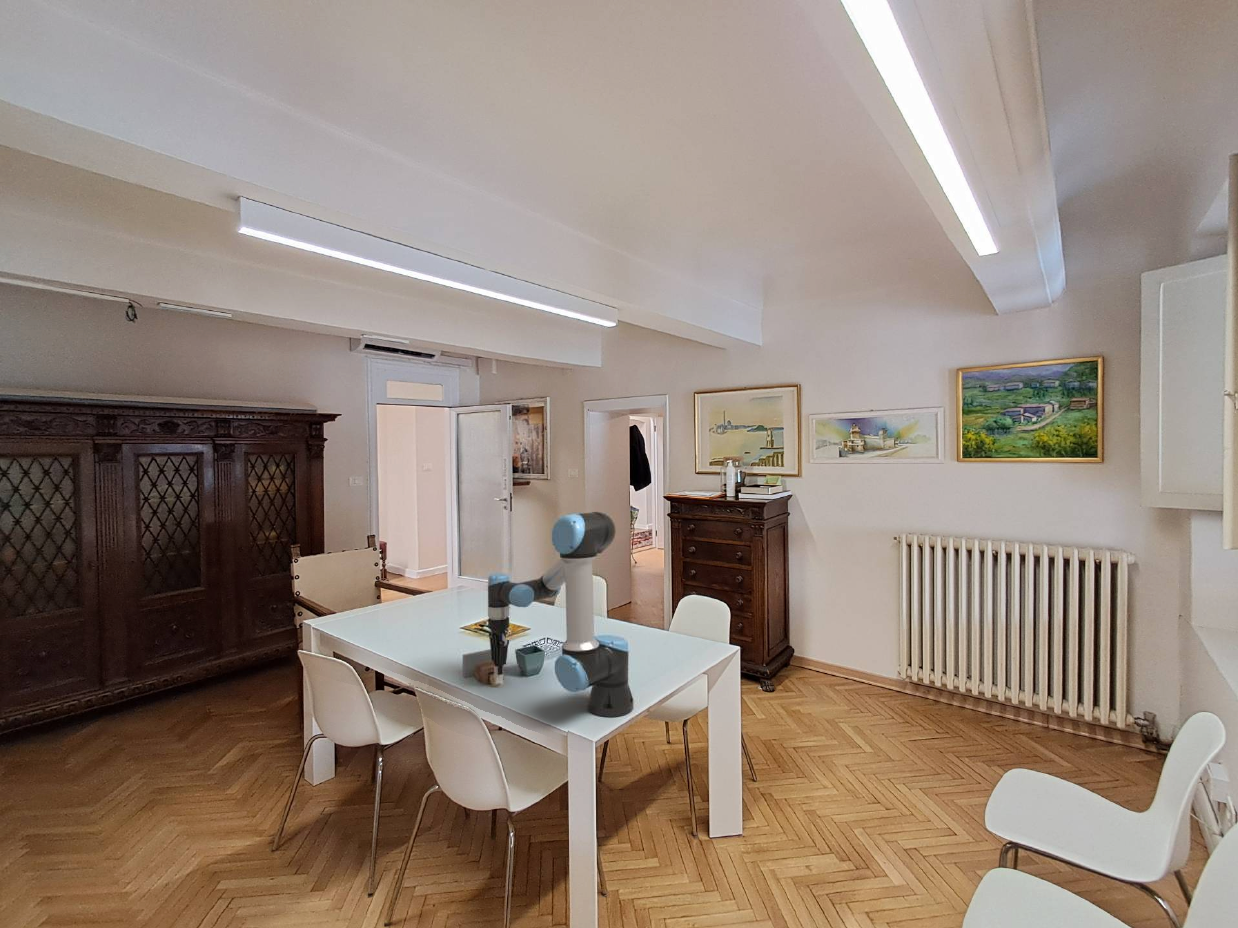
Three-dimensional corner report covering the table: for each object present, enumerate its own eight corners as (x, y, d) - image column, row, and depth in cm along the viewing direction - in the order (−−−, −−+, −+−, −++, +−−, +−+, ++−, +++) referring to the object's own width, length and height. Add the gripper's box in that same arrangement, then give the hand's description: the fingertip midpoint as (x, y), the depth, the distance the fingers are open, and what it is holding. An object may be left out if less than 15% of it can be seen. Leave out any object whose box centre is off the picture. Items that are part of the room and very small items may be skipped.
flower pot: (524, 679, 212) (524, 655, 212) (514, 672, 219) (514, 649, 219) (545, 674, 217) (545, 650, 217) (534, 667, 224) (534, 644, 224)
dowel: (501, 685, 207) (501, 676, 207) (494, 686, 205) (494, 678, 205) (490, 676, 215) (490, 668, 215) (483, 678, 213) (483, 670, 213)
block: (503, 679, 212) (503, 665, 212) (483, 684, 207) (483, 669, 207) (495, 673, 218) (495, 659, 218) (475, 678, 213) (475, 663, 213)
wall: (499, 669, 222) (499, 649, 222) (464, 677, 214) (464, 656, 214) (497, 668, 224) (497, 647, 224) (462, 675, 216) (462, 654, 216)
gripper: (516, 619, 202) (516, 685, 202) (501, 611, 213) (501, 674, 213) (496, 622, 198) (496, 690, 198) (481, 614, 208) (481, 679, 208)
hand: (498, 682), depth 205 cm, fingers closed
